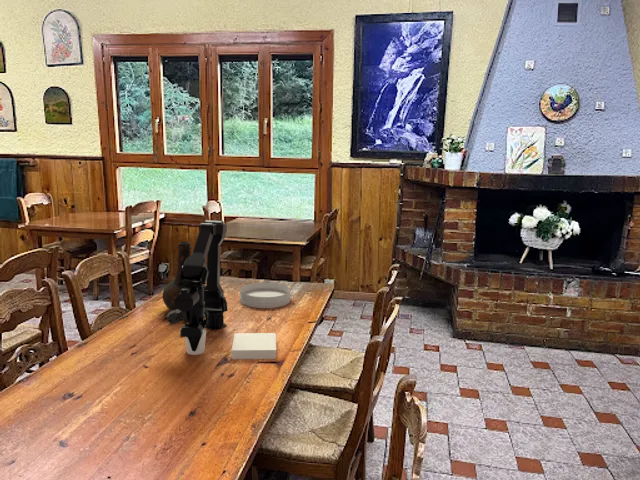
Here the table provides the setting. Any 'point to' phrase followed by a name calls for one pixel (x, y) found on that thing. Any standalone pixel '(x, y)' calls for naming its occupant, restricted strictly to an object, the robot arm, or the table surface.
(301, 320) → the table surface
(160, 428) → the table surface
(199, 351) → the white cup
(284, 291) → the dish
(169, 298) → the glass bottle
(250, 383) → the table surface
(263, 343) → the base block
